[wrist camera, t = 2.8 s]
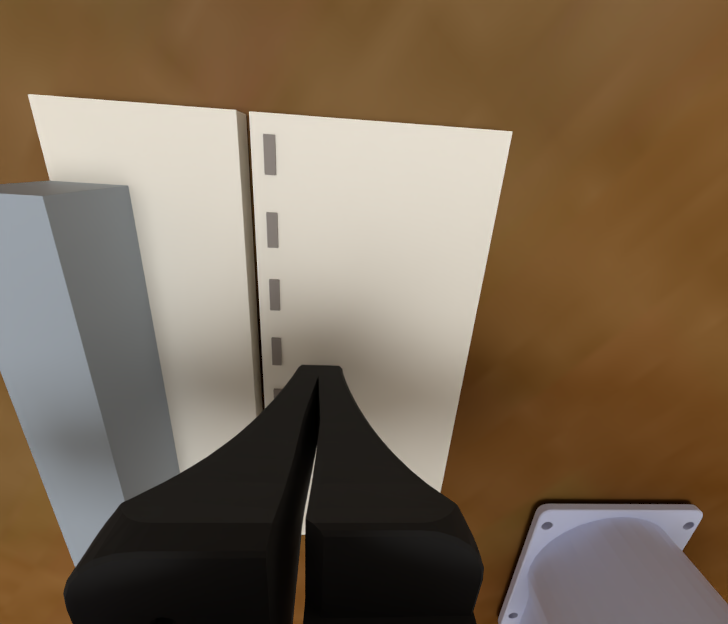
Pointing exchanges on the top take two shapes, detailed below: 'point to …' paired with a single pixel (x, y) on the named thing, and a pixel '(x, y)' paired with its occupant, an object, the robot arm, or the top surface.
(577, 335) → the top surface
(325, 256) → the ticket
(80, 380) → the stub
